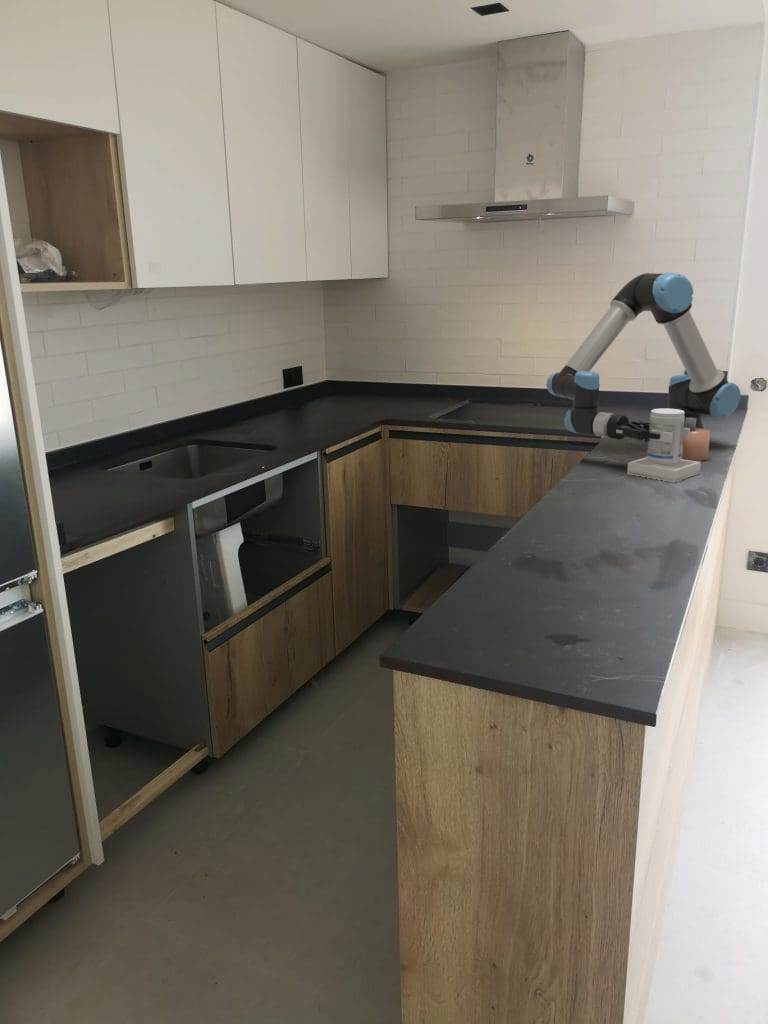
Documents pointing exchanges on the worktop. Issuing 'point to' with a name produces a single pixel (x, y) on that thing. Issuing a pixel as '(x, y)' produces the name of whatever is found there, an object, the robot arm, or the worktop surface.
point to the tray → (664, 469)
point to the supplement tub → (666, 423)
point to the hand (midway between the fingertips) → (680, 435)
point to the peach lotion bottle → (695, 442)
